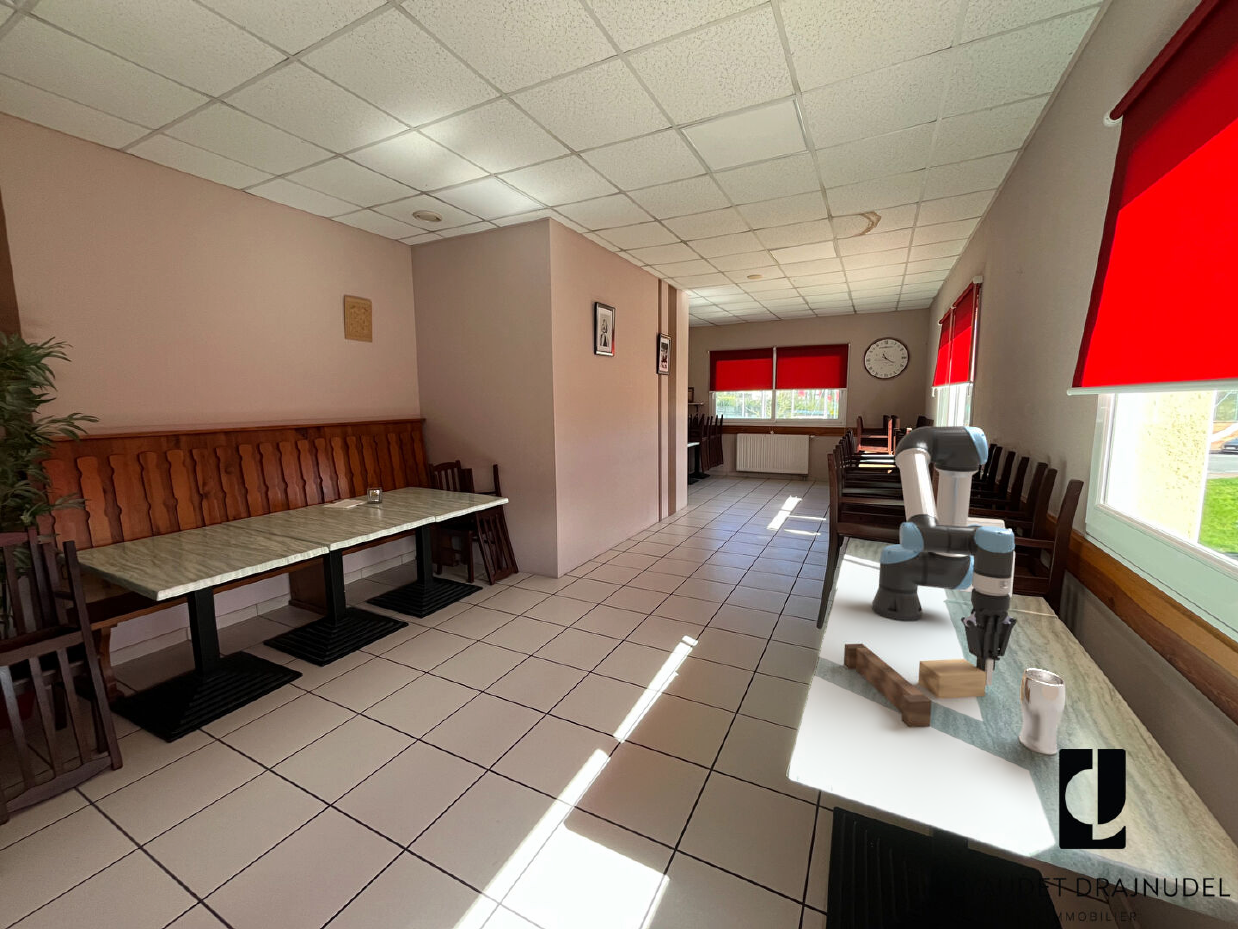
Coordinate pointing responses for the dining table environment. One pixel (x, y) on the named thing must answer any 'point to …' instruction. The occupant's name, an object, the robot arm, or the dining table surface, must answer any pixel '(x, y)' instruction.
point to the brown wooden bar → (890, 685)
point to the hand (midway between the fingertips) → (984, 682)
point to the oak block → (952, 678)
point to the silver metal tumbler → (1041, 709)
